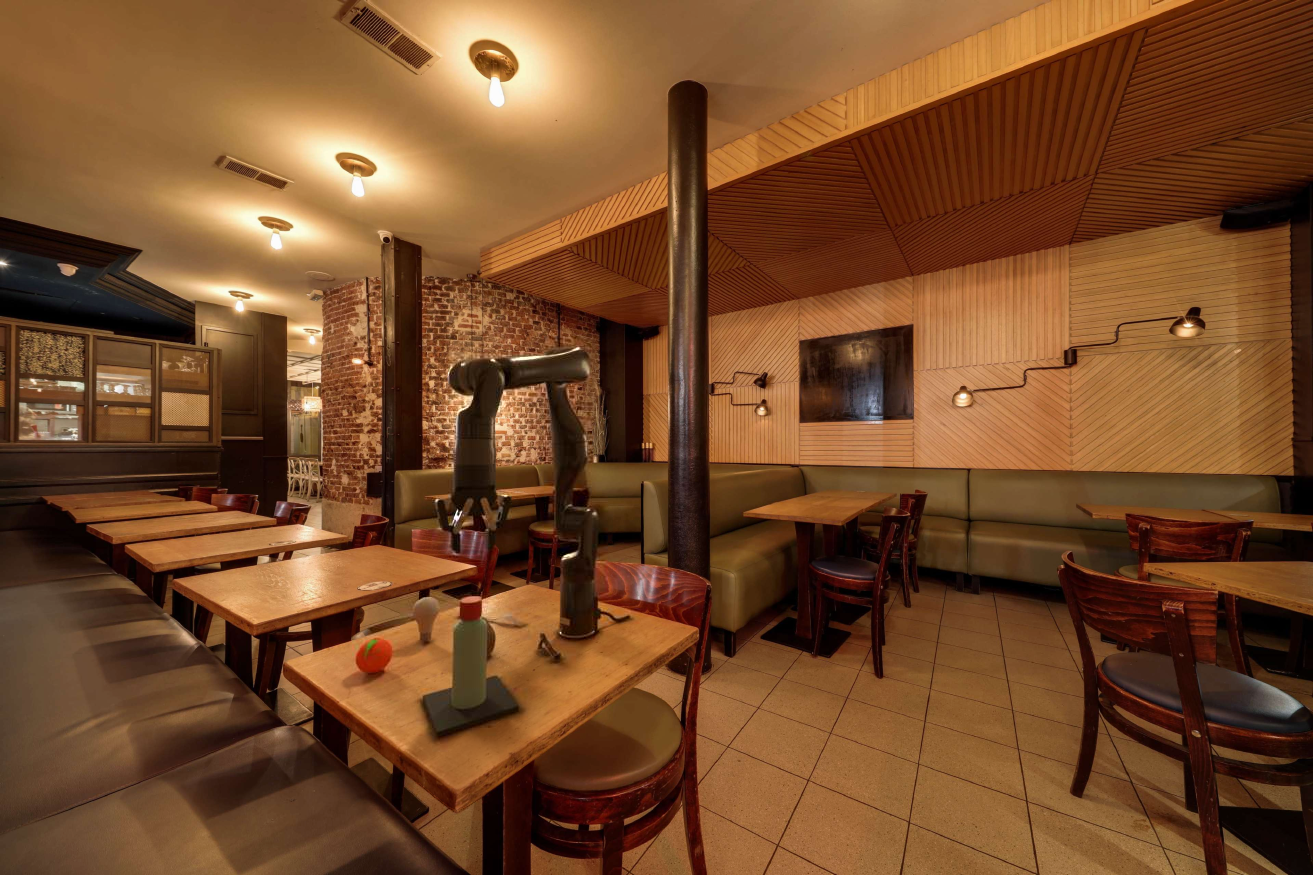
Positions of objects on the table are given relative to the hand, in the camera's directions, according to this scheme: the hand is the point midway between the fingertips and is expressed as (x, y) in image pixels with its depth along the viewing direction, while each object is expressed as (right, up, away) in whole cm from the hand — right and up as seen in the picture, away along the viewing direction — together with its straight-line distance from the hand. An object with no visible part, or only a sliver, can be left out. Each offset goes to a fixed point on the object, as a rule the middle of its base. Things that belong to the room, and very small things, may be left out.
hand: (473, 550), depth 88 cm
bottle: (-1, -28, -1) cm, 28 cm away
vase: (-6, -30, +20) cm, 36 cm away
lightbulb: (-23, -30, +27) cm, 47 cm away
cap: (0, -13, 0) cm, 13 cm away
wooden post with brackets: (+10, -30, +20) cm, 37 cm away
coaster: (0, -29, -1) cm, 29 cm away
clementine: (-26, -29, +11) cm, 41 cm away
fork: (-12, -30, +41) cm, 53 cm away
